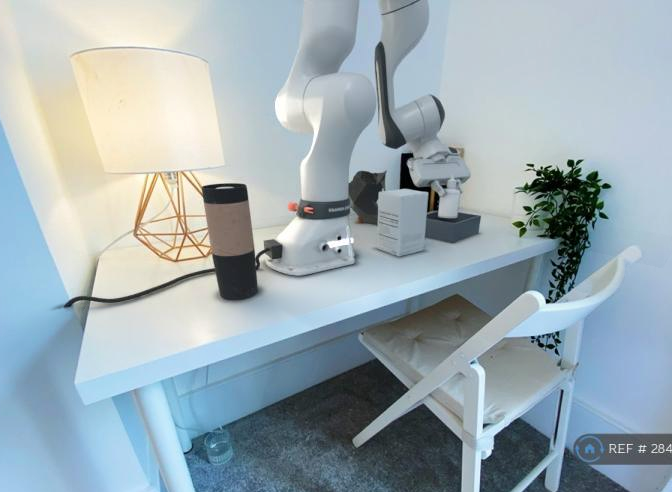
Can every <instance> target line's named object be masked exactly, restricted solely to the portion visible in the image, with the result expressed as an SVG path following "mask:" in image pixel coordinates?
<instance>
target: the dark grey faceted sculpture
mask: <svg viewBox="0 0 672 492" xmlns="http://www.w3.org/2000/svg"><path fill="white" fill-rule="evenodd" d="M387 172H388V170H387V169H386V170H385V171H382V172H370V171H369V170H368V171H367V170H358V171H356V173H355V174H354V175H353V177H352V180H350V182H349V184H348V197H349V198H350V206H351V207H350V209H351V210H352V212H354V213H355V214H356V216H357V218H356V223H358V224H363V223H364V224H371V225H375V226H378V198H379V192H383V191H387V190H386V176H387V175H386V174H387Z"/></svg>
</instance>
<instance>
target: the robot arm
mask: <svg viewBox="0 0 672 492" xmlns="http://www.w3.org/2000/svg"><path fill="white" fill-rule="evenodd" d="M377 3H378V8H379V14H380V19H381V32H380V38H379V41H378V43H377V44H376V46H375V48H374V75H375V76H374V77H375V87H374V85H373V83H372V81H371V80H370V79H369V78H368V77H367V76H366V75H364V74H362V73H357V72H349V71H340V69H341V67H342V66H343V63H344V62H345V61H346V59H348V57H349V56H350V55H351V54H352V52H353V50H354V47H355V46H356V45H355V44H356V39H357V30H358V21H359V9H360V0H303V3H302V12H301V13H302V16H301V25H300V26H301V27H300V35H299V41H298V46H297V51H296V53H295V57H294V60H293V64H292V66H291V69H290V72H289V75H288V77H287V79H286V81H285V83H284V85H283V86H282V87H281V89H280V90H279V91H278V93H277V95H276V98H275V104H274V105H275V106H274V108H275V109H274V110H275V115H276V117H277V120H278V122H279V123H280V125H281V126H282V127H283V128H284V129H286V130H288V131H290V132H292V133H296V134H300V135H304V136H305V135H313V139H312V143H311V146H310V149H309V152H308V154H307V155H306V156H305V157H304V158H303V159H302V161H301V162H300V167H299V172H300V173H299V175H300V190H301V191H300V192H301V198H300V199H299V202H298V203H296V202H293V201H290V202H288V203H287V206H286V207H287V210H288V211H289V212H294V213H295V214H296V217H294V218H293V219H292V220H291V221H290V222H289V224H288V225H287V226H286V227H284V229H283V230H282V231H281V232H280V233H279V234H278V235H277V237H276V239H274V238H273V239H265V240H263V249H262V250H260V251H259V252H258V253H256V254H255V261H256V271H257V270H258V269H260V267H261V262H260V257H261V256H263V255H264V254H265V255H266V256H267V257H266V258H265V264H266V266H268V268H270V269H272V270H274V271H276V272H279V273H282V274H284V275H290V276H297V277H298V276H299V277H302V276H306V275H311V274H316V273H319V272H324V271H328V270H329V271H330V270H333V269H337V268H342V267H346V266H350V265H354V264H355V263H356V261H355V256H356V253H355V250H354V247H353V243H354V238H353V237H352V233H351V225H350V214H351V208H350V207H351V206H350V198H349V197H348V184H349V183H350V182H349V181H350V180H349V179H350V165H351V159H352V156H353V152H354V149H355V146H356V144H357V141H358V139H359V138H360V136H361V134H362V133H363V131H365V130H366V128H367V127H368V126H369V125H370V124H371V122H372V121H373V119H374V116H375V114H376V111H377V112H378V113H377V114H378V115H377V117H378V119H377V120H378V121H377V122H378V123H377V124H378V134H379V135H378V136H379V138H380V141H381V143H382V144H383V146H385V147H387V148H388V149H394V150H398V149H400V148H401V147H404V146H405V145H407V147H408V148H409V149H410V150H411V152H412V155H413V157H409V158H408V159H407V161H406V165H407V167H408V170H409V174H410V177H411V180H412V182H413V184H414V186H415V187H417V188H425V187H430V188H431V189H432V190H433V191H435V192H436V193H437V194H438V196H439V198H440V197H445V195H447V191H446V189H447V188H444V187H443V186H447V181H448V180H450V178H451V175H454V179H455V180H456V188H455V189H457V190H459V191H460V196H461V195H462V194H463V192H464V191H463V188H462V185H463V184H464V183H467V181H468V180H469V179H471V175H472V173H471V170H470V168H469V167H468V165H467V163H466V161H465V160H464V158H463V157H461V156H460V155H461V152H460V150H459V149H458V148H457V147H456V148H455V147H453V146H450V145H447V144H446V143H443V142H442V140H441V139H440V138H439V136H438V133H439V132H440V131H441V128H442V126H443V124H444V121H445V118H446V111H445V109H444V105H443V104H442V102H441V100H440V99H439V98H438V97H437V96H435V95H432V94H429V93H428V94H425V95H422V96H420V97H418V98H416V99H414V100H412V101H410V102H408V103H406V104H404V105H402V106H399V107H395V106H396V103H395V88H394V87H395V86H394V79H395V74H396V71H397V68H399V65H400V64H401V63H402V62H403V61H404V59H405V58H406V57H407V56H408V55H409V54H410V53H411V52H412V51H413V50H414V49H415V48H416V47H417V46H418V45H419V43H420V42H421V40H422V39H423V37H424V36H425V34H426V33H427V30H428V27H429V24H430V5H429V4H430V3H429V0H377ZM375 89H376V90H375ZM376 109H377V110H376ZM209 273H216V272H215V267H212V268H206V269H202V270H197V271H194V272H189V273H186V274H184V275H180V276H178V277H176V278H174V279H172V280H170V281H167V282H164V283H162V284H159V285H156V286H153V287H151V288H147V289H146V290H142V291H139V292H136V293H133V294H129V295H125V296H121V297H114V298H105V297H104V298H103V297H97V296H96V297H95V296H89V295H78V296H75V297H73V298H71V299H69V300H68V301H67V302H66V303H65V304H64V306H63V308H70V307H71V306H72V305H73V304H75V303H77V302H80V301H87V302H95V303H102V304H116V303H122V302H126V301H131V300H134V299H137V298H140V297H143V296H147V295H148V294H151V293H154V292H156V291H160V290H162V289H166V288H167V287H170V286H172V285H174V284H176V283H178V282H181V281H183V280H186V279H189V278H193V277H196V276H199V275H204V274H209Z"/></svg>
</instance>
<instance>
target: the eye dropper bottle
mask: <svg viewBox="0 0 672 492" xmlns="http://www.w3.org/2000/svg"><path fill="white" fill-rule="evenodd" d="M455 188H456V180H455V179H454V175H451V178H450V180H448V181H447V185H446V188H445V189H446V191H447V195H445V197H440V196H439V202H438V210H437V211H438V217H440V218H457V216H458V212H459V209H460V208H459V207H460V202H461V201H460V200H461V195H460V191H459V190H457V189H455Z"/></svg>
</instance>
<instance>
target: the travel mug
mask: <svg viewBox="0 0 672 492" xmlns="http://www.w3.org/2000/svg"><path fill="white" fill-rule="evenodd" d="M201 193H202V200H203V206H204V207H203V208H204V213H205V220H206V227H207V232H208V238H209V247H210V251H211V256H212V263H213V268H215V272H214V273H215V277H216V282H217V287H218V292H219V296H220V297H221V298H222V299H224V300H228V301H240V300H246V299H249V298H252V297H253V296H255V295H256V294H257V293H258V289H259V288H258V287H259V286H258V276H257V274H258V273H257V270H256V265H257V264H256V260H255V258H256V251H255V240H254V233H253V225H252V217H251V209H250V208H251V207H250V199H249V192H248V187H247V185H246V184H245V183H237V182H226V183H211V184H206V185H205V184H204V185H202V186H201Z"/></svg>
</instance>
